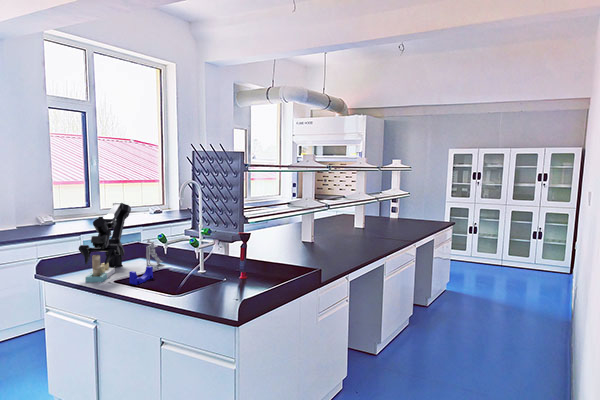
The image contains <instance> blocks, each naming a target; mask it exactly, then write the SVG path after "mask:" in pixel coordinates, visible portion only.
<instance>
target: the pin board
mask: <svg viewBox="0 0 600 400" xmlns="http://www.w3.org/2000/svg"><path fill="white" fill-rule="evenodd" d="M100 267H101V276H94V277H93V271H92V272H91V273H89V274H88V275H86V276H85V277H84V278H85V283H103V282H105V281H106V280H107V279H108V278H110V277H111V276H112V275H113V274H114V273H116V271H115V269H116V267H113V268H110V267H109V263H107V264H106V265H105V262H101V263H100Z"/></svg>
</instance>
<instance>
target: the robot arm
mask: <svg viewBox="0 0 600 400" xmlns="http://www.w3.org/2000/svg"><path fill="white" fill-rule="evenodd" d="M131 211H132V207H131V206H130V205H129V204H125V203H123V202H113V203H112V206H111V208H110V210H109V212H108V213H107V214H106V215H104V216H98V218H96V219H94V221H92V225H93V227H94V229H95V231H96V232H97V233H98V234H97V235H92V236H91V239H90V243H91V244H92V246H93V247H90V245H89V244H80V245H79V247H78V251H79V252H80V254H81V255H82V256H83V258H84V264H85V265H86V266H87V265H88V264H89V260H90V257H91V253H92V252H102V253H103V252H104V253H105V259H104V263H105V265H106V264H107V263H109V268H119V267H124V265H123V258H122V257H123V256H125V250H124V249H125V248H124V247H123V244H122V242H121V239H122V234H123V230H124V225H125V221H126V219H128V217H129V216H130V214H131ZM111 229H113V230H111Z"/></svg>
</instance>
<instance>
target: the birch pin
mask: <svg viewBox="0 0 600 400" xmlns="http://www.w3.org/2000/svg"><path fill="white" fill-rule="evenodd" d="M91 263H92V264H91V265H92V272H93V277H94V276H101V267H100V266H101V255H100V254H93V255H91Z"/></svg>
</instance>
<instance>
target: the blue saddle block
mask: <svg viewBox="0 0 600 400" xmlns="http://www.w3.org/2000/svg"><path fill="white" fill-rule="evenodd" d="M153 268H154V266H147V265H146V267H145V271H144V273H143V274H142V276H140V277H139V276H138V275H137V271H133V270H131V271H129V272H128V275H129V284H131V285H136V286H137V285H140V284H143V283H146V282H147V281H148V280H151V279H153V278H154V269H153Z"/></svg>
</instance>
